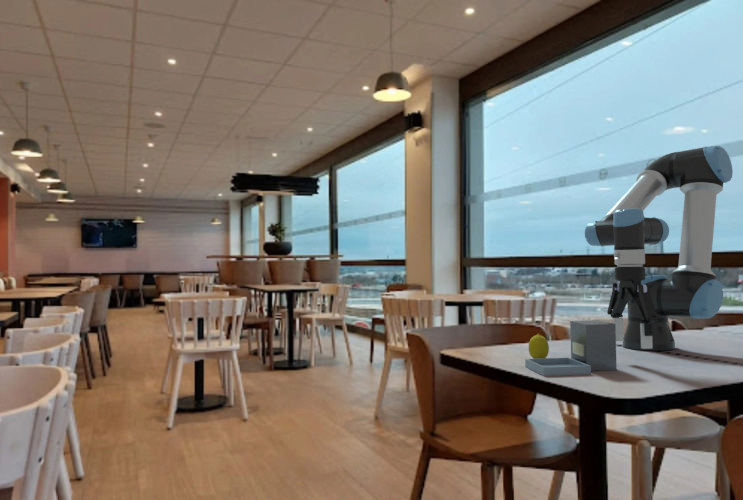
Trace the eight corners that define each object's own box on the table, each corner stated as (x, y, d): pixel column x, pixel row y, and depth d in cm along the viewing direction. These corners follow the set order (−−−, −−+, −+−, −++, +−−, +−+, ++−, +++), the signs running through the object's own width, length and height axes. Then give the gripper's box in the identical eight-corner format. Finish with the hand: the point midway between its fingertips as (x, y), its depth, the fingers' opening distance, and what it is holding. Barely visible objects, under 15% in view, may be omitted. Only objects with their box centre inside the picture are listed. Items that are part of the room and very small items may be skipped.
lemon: (546, 360, 159) (546, 332, 159) (551, 363, 153) (550, 335, 153) (527, 360, 159) (526, 332, 159) (530, 363, 154) (530, 335, 154)
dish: (569, 365, 151) (568, 357, 151) (591, 374, 139) (590, 365, 139) (525, 366, 150) (525, 358, 150) (543, 375, 137) (543, 367, 138)
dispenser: (600, 363, 152) (599, 320, 152) (618, 370, 143) (616, 323, 143) (570, 364, 151) (569, 321, 152) (586, 371, 142) (584, 324, 143)
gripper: (593, 265, 161) (595, 338, 160) (643, 266, 136) (645, 352, 136) (618, 265, 162) (620, 337, 161) (672, 265, 137) (674, 351, 136)
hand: (631, 344), depth 148 cm, fingers open, 13 cm apart
